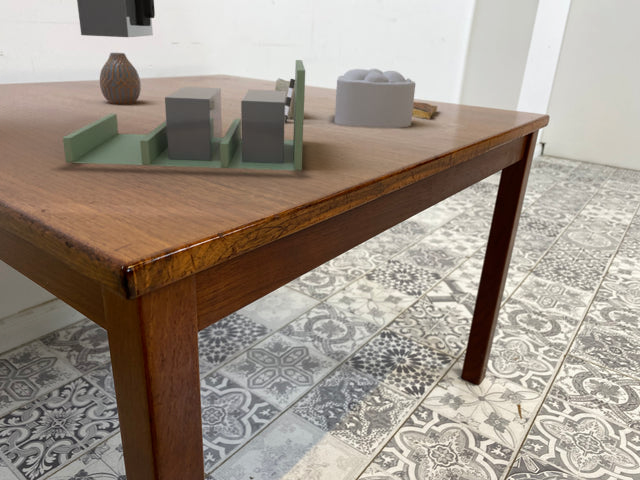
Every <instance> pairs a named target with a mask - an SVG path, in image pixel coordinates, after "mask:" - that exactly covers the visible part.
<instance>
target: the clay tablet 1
mask: <svg viewBox="0 0 640 480" xmlns="http://www.w3.org/2000/svg"><path fill="white" fill-rule="evenodd" d="M164 105H165V106H164V108H165V121H166V124H167V140H168V156H169V159H174V160H203V161H211V159H212V158H213V156H214V154H215V152H216V151H217V149H218V147H219V146H220V143H221V142H222V138H223V126H222V125H223V124H222V121H223V120H222V119H223V118H222V88H221V87H205V86H203V87H201V86H182V87H180V88H179V89H176V90H175V91H173V92H172V93H170V94H168V95H167V96H165V97H164Z"/></svg>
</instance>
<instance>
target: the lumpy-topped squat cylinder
mask: <svg viewBox="0 0 640 480" xmlns="http://www.w3.org/2000/svg"><path fill="white" fill-rule="evenodd" d="M335 91H336V92H335V106H334V107H335V108H334V124H337V125H341V126H347V127H359V128H361V127H362V128H363V127H364V128H384V129H385V128H388V129H393V128H394V129H397V128H405V127H406V128H407V127H411V125H412V118H413V115H412V111H413V102H415V94H416V93H415V92H416V82H415V81H414V80H412V79H410V78H409V77H407V78H405V76H403V75H402V73H400V72H398V71H396V70H385V71H382V70H380V69H378V68H371V69H364V68H354V69H349V70H348V71H346V72H345V73H344V74H343V75H340V76H338V77H337V79H336V90H335Z"/></svg>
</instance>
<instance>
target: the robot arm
mask: <svg viewBox="0 0 640 480" xmlns="http://www.w3.org/2000/svg"><path fill="white" fill-rule="evenodd" d="M135 8H136V20H137V24H139V26H150V25H151V21H150V18H152V19H154V18H155V16H156V12H155V11H156V10H155V0H135Z"/></svg>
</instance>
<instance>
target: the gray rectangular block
mask: <svg viewBox="0 0 640 480" xmlns="http://www.w3.org/2000/svg"><path fill="white" fill-rule="evenodd" d="M76 4H77V12H78V19H79V28H80V35H81V36H88V37H89V36H90V37H108V38H109V37H113V38H137V37H148V36H149V37H150V36H153V35H154V32H153V31H154V30H153V18H150V21H151V25H150V26H139V24H137V20H136V8H135V0H76Z"/></svg>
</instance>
